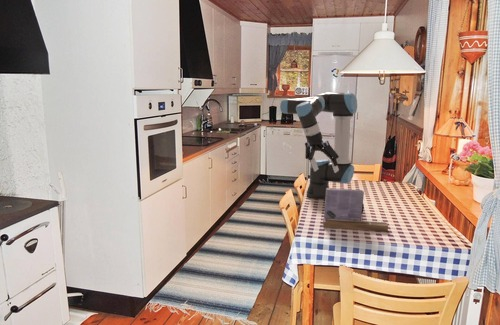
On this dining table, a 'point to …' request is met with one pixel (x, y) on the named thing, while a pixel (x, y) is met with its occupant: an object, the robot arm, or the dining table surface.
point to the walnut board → (355, 225)
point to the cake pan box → (344, 204)
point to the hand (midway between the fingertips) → (326, 170)
